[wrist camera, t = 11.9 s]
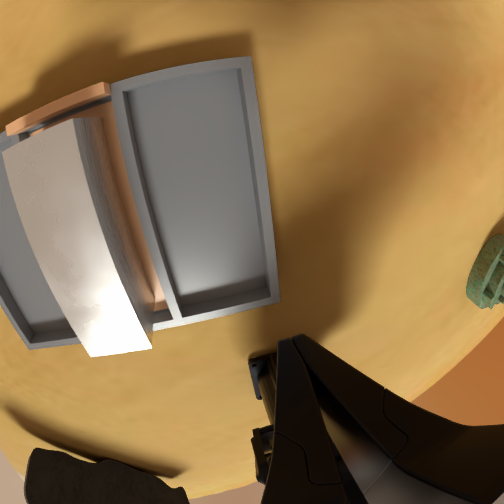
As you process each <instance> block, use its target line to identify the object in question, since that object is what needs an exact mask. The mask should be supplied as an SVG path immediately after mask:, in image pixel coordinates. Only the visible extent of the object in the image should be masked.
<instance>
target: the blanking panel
mask: <svg viewBox="0 0 504 504" xmlns="http://www.w3.org/2000/svg"><path fill="white" fill-rule="evenodd" d="M2 156H3V160H4V164H5V169H6V173H7V176H8V180H9V184H10V187H11V191H12V194H13V197H14V201H15V204H16V207H17V210H18V213H19V216H20V219H21V222H22V224H23V227H24V230H25V232H26V235H27V238H28V240H29V243H30V245H31V247H32V250H33V252H34V255H35V257H36V259H37V261H38V264H39V266H40V268H41V270H42V272H43V275H44V277H45V279H46V281H47V283H48V285H49V287H50V289H51V291H52V293H53V295H54V297H55V298H56V300H57V302H58V304H59V306H60V308H61V310H62V311H63V313H64V315H65V317H66V318H67V320H68V322H69V324H70V325H71V327H72V329H73V330H74V332H75V333H76V335H77V337H78V338H79V340H80V341H81V343H82V345H83V346H84V348H85V349H86V351H87V352H88V354H89V355H90V357H96V356H103V355H110V354H117V353H123V352H130V351H136V350H142V349H147V348H152V336H153V321H154V309H155V298H154V295H153V293H152V290H151V288H150V285H149V282H148V280H147V277H146V274H145V271H144V268H143V266H142V263H141V260H140V257H139V254H138V251H137V248H136V245H135V242H134V239H133V236H132V233H131V230H130V226H129V223H128V220H127V217H126V213H125V210H124V206H123V203H122V199H121V196H120V192H119V188H118V185H117V181H116V177H115V173H114V169H113V165H112V161H111V156H110V152H109V147H108V143H107V138H106V133H105V128H104V123H103V118H102V117H84V118H72V119H69V120H67V121H64V122H62V123H60V124H57V125H55V126H53V127H50V128H48V129H46V130H44V131H42V132H39V133H37V134H35V135H33V136H31V137H29V138H27V139H25V140H23V141H21V142H19V143H17V144H15V145H14V146H12V147H10V148H8V149H6V150H5V151H3V152H2Z"/></svg>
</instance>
